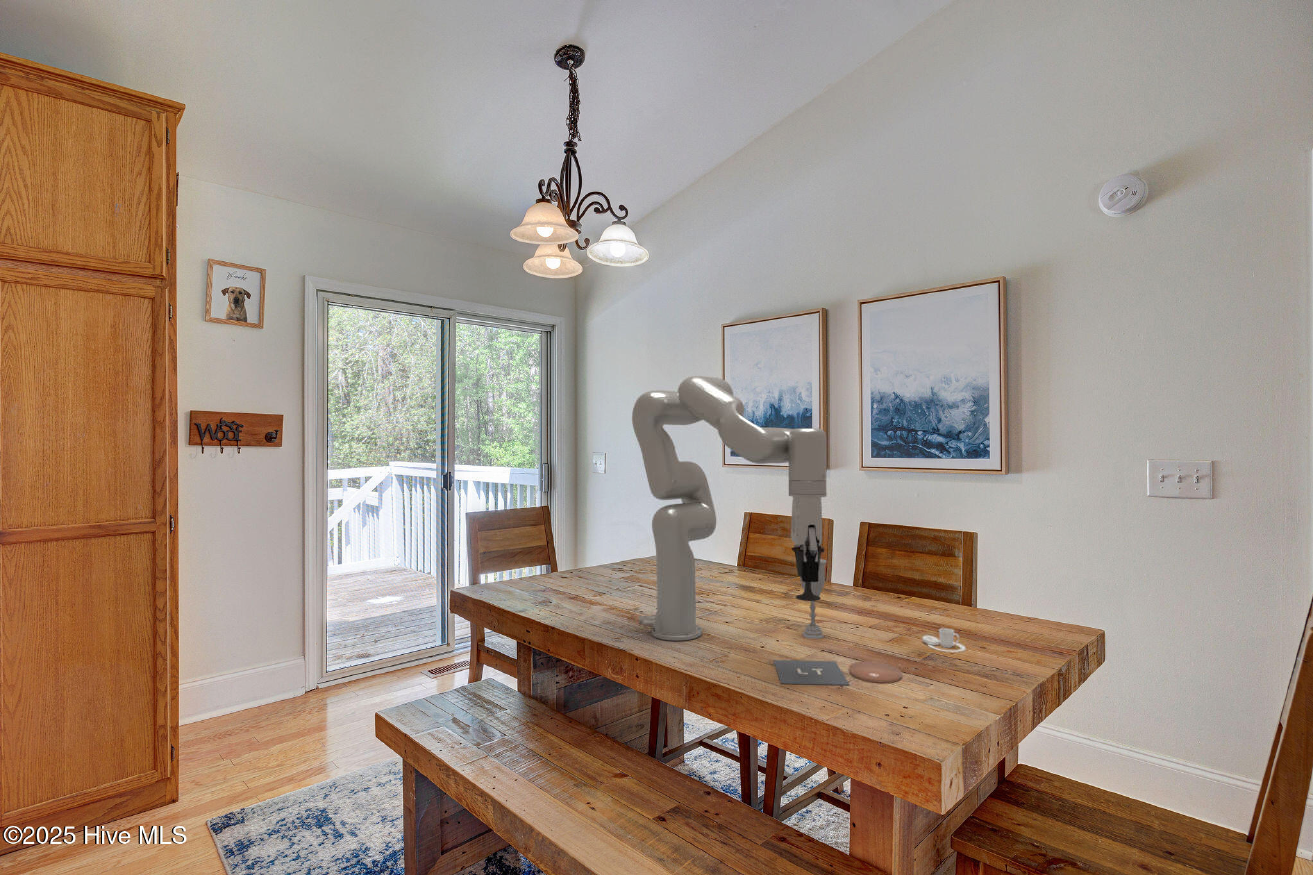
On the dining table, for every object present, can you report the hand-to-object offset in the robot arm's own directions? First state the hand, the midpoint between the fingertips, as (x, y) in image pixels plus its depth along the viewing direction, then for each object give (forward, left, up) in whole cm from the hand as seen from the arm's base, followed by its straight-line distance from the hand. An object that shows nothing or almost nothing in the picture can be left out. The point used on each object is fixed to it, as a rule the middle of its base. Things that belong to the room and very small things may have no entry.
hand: (807, 577), depth 129 cm
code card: (0, 0, -19) cm, 19 cm away
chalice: (+5, +25, -19) cm, 32 cm away
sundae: (0, 0, -4) cm, 4 cm away
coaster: (+13, 0, -19) cm, 23 cm away
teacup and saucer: (+34, +21, -20) cm, 45 cm away
